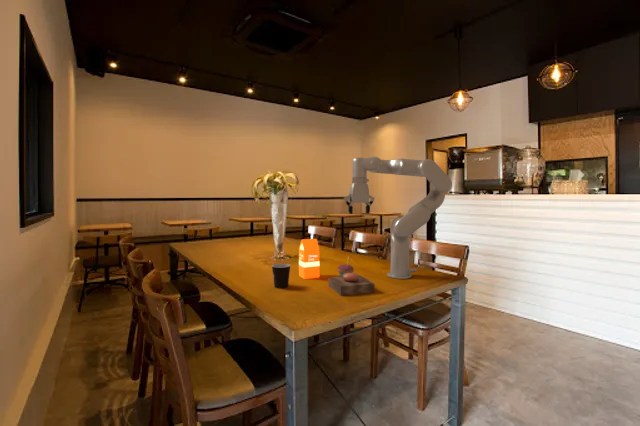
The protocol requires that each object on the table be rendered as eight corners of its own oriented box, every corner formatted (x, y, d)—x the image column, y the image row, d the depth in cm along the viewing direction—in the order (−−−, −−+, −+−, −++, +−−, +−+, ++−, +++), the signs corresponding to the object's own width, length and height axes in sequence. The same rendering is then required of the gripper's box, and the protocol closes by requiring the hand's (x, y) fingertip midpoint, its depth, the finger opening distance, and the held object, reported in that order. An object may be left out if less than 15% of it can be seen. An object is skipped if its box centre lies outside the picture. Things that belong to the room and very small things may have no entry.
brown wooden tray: (359, 283, 159) (359, 275, 159) (374, 292, 144) (374, 283, 144) (328, 285, 155) (328, 277, 154) (340, 295, 139) (340, 286, 139)
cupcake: (353, 276, 173) (353, 253, 172) (353, 280, 164) (353, 257, 164) (337, 275, 174) (337, 253, 173) (336, 280, 165) (336, 256, 165)
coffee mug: (287, 289, 148) (287, 267, 148) (269, 288, 150) (269, 267, 150) (294, 282, 160) (294, 262, 159) (277, 281, 162) (277, 262, 161)
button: (354, 276, 154) (354, 272, 153) (360, 280, 147) (361, 275, 147) (340, 277, 151) (340, 273, 151) (346, 281, 145) (346, 277, 145)
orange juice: (298, 275, 174) (298, 238, 173) (313, 274, 178) (313, 237, 177) (304, 279, 167) (304, 240, 166) (319, 277, 171) (319, 239, 170)
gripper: (371, 181, 178) (370, 213, 179) (341, 181, 173) (341, 213, 174) (377, 181, 171) (377, 213, 172) (346, 180, 166) (346, 214, 167)
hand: (359, 213), depth 173 cm, fingers open, 9 cm apart
